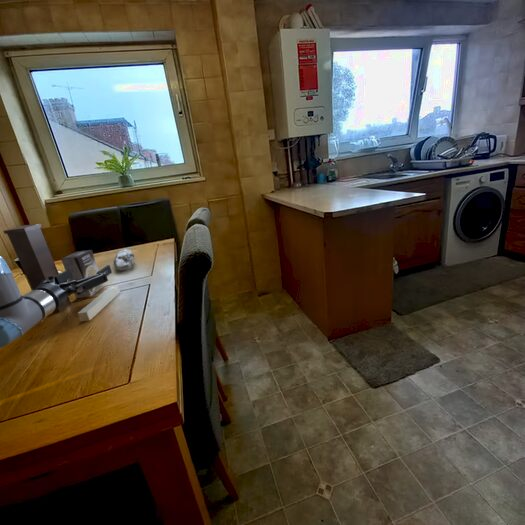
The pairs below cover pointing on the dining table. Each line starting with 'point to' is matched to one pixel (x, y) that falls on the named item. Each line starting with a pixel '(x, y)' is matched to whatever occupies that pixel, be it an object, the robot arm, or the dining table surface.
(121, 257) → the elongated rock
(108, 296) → the switch bar
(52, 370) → the dining table surface
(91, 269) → the coffee box
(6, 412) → the dining table surface
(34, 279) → the walnut post
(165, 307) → the dining table surface
